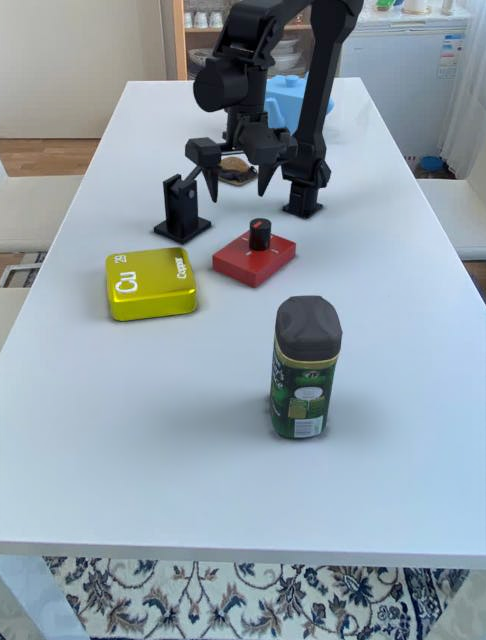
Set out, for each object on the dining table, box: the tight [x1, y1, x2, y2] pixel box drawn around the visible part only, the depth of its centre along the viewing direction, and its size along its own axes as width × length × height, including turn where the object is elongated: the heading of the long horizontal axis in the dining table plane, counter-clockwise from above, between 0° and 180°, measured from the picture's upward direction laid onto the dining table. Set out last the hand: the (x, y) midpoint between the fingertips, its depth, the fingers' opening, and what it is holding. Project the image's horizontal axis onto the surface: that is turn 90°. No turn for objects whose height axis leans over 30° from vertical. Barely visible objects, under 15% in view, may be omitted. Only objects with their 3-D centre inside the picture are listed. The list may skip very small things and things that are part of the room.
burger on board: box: [218, 155, 258, 187], centre depth 131 cm, size 11×8×4 cm
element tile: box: [104, 246, 198, 322], centre depth 100 cm, size 15×15×5 cm
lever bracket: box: [152, 173, 212, 246], centre depth 112 cm, size 9×8×10 cm
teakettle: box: [264, 70, 335, 136], centre depth 140 cm, size 19×19×15 cm
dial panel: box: [211, 229, 297, 289], centre depth 106 cm, size 13×10×3 cm
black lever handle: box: [170, 161, 221, 200], centre depth 111 cm, size 12×6×2 cm, turn 140°
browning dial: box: [248, 217, 273, 251], centre depth 104 cm, size 4×4×5 cm
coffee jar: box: [269, 295, 344, 439], centre depth 74 cm, size 10×8×19 cm
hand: (237, 199), depth 99 cm, fingers open, 9 cm apart
